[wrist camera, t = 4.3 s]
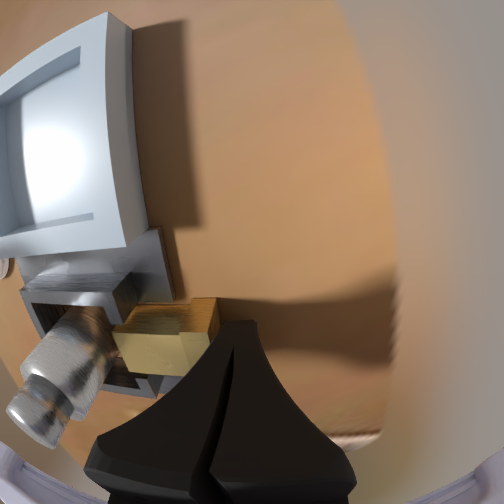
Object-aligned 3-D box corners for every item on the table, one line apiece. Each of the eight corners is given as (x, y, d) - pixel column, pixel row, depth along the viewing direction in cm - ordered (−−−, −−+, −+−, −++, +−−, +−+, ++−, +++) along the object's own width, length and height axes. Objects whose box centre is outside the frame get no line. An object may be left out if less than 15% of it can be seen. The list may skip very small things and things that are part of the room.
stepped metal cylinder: (136, 349, 12) (82, 466, 6) (88, 344, 12) (28, 440, 6) (116, 294, 11) (30, 414, 4) (66, 294, 11) (-17, 387, 5)
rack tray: (149, 227, 10) (126, 246, 8) (21, 244, 10) (-3, 259, 8) (132, 29, 7) (108, 11, 5) (4, 96, 7) (-23, 97, 5)
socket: (202, 390, 13) (196, 420, 11) (73, 373, 14) (61, 394, 12) (161, 226, 10) (139, 245, 8) (17, 244, 10) (-8, 259, 8)
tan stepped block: (225, 349, 12) (219, 385, 10) (145, 347, 12) (130, 379, 10) (216, 297, 11) (207, 332, 9) (128, 299, 11) (106, 329, 9)
